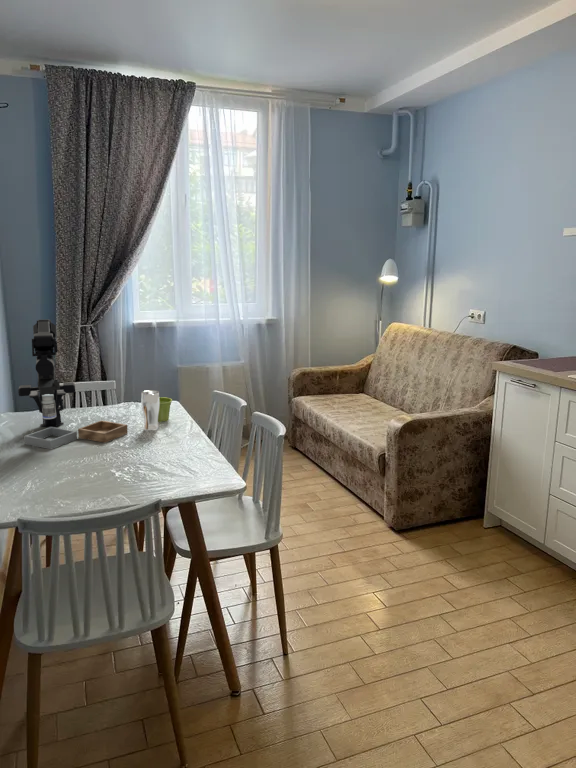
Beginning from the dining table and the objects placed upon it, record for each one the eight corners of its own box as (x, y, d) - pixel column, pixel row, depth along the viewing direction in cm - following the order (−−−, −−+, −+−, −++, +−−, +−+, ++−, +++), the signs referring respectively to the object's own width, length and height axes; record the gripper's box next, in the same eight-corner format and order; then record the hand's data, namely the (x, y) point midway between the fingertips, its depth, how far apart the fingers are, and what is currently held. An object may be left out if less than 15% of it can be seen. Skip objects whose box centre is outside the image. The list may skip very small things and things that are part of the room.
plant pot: (176, 418, 246) (175, 398, 244) (166, 424, 237) (166, 403, 235) (156, 416, 248) (155, 396, 246) (145, 422, 239) (145, 401, 237)
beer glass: (162, 426, 233) (161, 390, 230) (157, 432, 226) (156, 394, 223) (145, 426, 234) (144, 389, 230) (139, 431, 227) (138, 394, 224)
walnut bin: (78, 437, 218) (78, 428, 217) (101, 428, 229) (101, 420, 228) (105, 442, 213) (104, 433, 212) (127, 433, 224) (127, 424, 223)
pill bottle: (44, 415, 213) (43, 393, 211) (58, 415, 214) (56, 393, 212) (40, 419, 209) (38, 396, 207) (54, 419, 209) (52, 396, 207)
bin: (24, 443, 210) (24, 436, 209) (51, 434, 221) (51, 426, 221) (51, 449, 205) (50, 441, 205) (77, 439, 216) (76, 431, 216)
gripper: (15, 376, 197) (19, 420, 200) (74, 373, 203) (77, 415, 207) (17, 369, 207) (21, 412, 210) (73, 366, 213) (76, 408, 217)
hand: (49, 412), depth 211 cm, fingers closed on pill bottle, 5 cm apart
